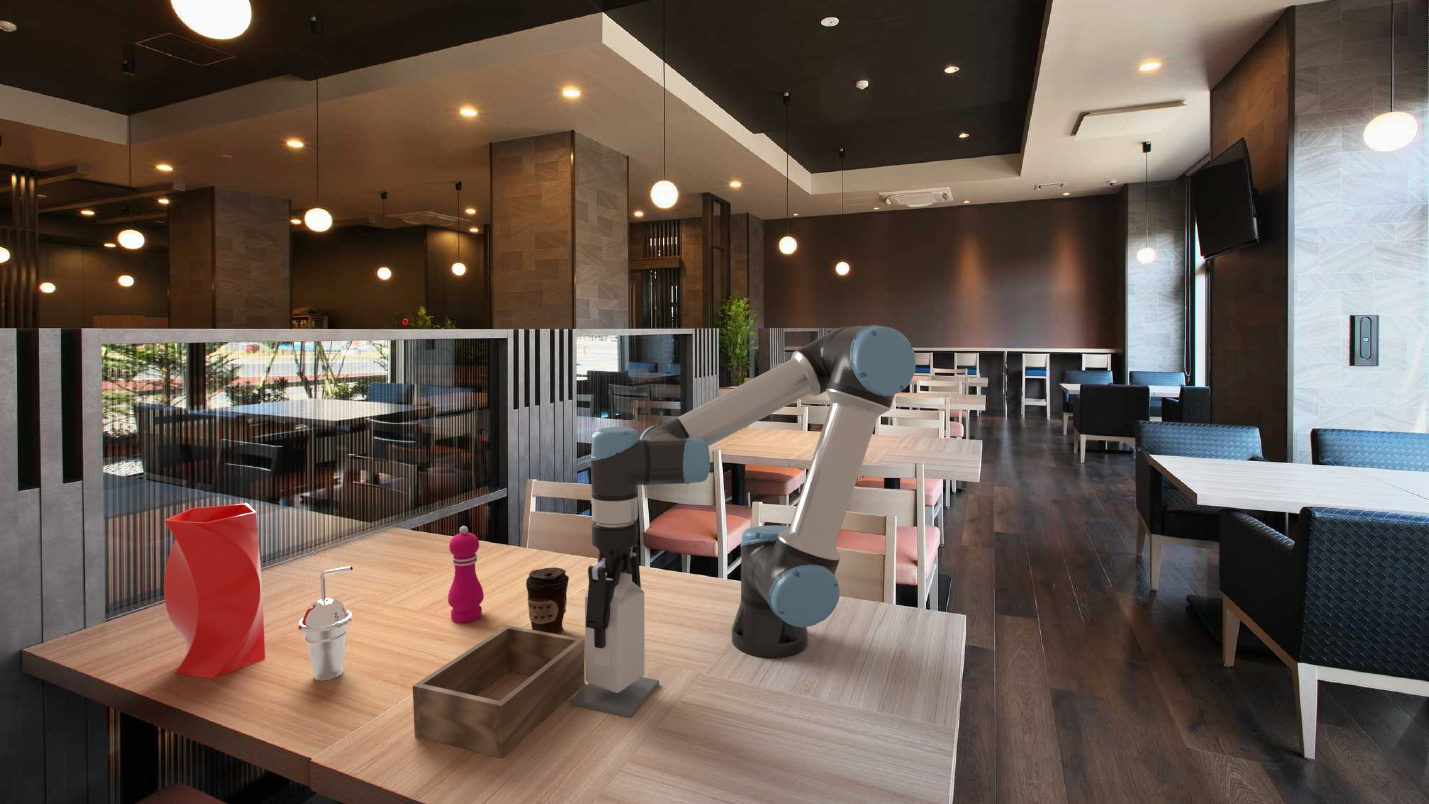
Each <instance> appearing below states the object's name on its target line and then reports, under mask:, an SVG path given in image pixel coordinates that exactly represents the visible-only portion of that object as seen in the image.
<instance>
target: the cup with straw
mask: <svg viewBox="0 0 1429 804" xmlns="http://www.w3.org/2000/svg"><path fill="white" fill-rule="evenodd" d="M353 569H354V568H353V566H344V567H339V568H334V569H328V570H323V571H322V572H321V573H320V579H319V580H320V595H321V599H319V600H316V601H315V602H313V603H312V604H311V605H309V606H308V607H307V609H306V611H305V612H304V615H303V617H302V618H300V620H298V626H297V628H298V630H300V631H301V632H303V635H304V638H305V641H306V643H307V646H308V647H307V648H308V653H309V658H310V663H311V667H312V673H313V674H314V676H313V678H314V680H316V681H319V680H320V681H319V682H321V681H322V682H323V680H326V681H331V680H334V679H336V678H335V677H337V678H338V676H339V675H340V676H341V675H343V673H344V670H343V667H344V664H345V651H346V639H347V633H348V629H349V624H350V623H351V622H352V621H353V619H354V616H353V614H352V612H351V610H349V609H348V608H347V607H346V605H345V604H344V602H343V601H340V600H338V599H335V598H332V597H328V598H327V594H326V591H327V590H326V589H327V588H326V575H330V574H331V575H332V574H336V573H337V574H338V573H344V572H351V571H353ZM342 672H343V673H342ZM340 676H339V677H340ZM333 678H334V679H333Z"/></svg>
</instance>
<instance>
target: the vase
mask: <svg viewBox="0 0 1429 804" xmlns="http://www.w3.org/2000/svg"><path fill="white" fill-rule="evenodd" d="M163 521H164V523H165V524H166V526H167V528H168V529H169V531H170V532H171V534H172V535H173V537H174V541H173V544H172V546H171V549H170V552H169V556H168V559H167V562H166V565H165V566H166V567H165V572H164V579H163V598H164V599H163V600H164V604H165V605H164V606H165V609H166V611H167V614H168V618H169V620H170V622H171V623H172V625H173V627H174V628H175V629H176V631H177V632H178V634H179V635H180V636H181V638H182V639H183V640H184V642H185V645H186V653H185V655H184V658H183V659H182V661H181V662H180V664H179V666H178V667H177V668H176V670H175V671H174V673H175V674H180V675H181V674H182V675H187V676H193V677H198V678H199V677H200V678H205V679H210V680H211V679H212V680H213V679H215V678H218V677H221V676H223V675H227V674H229V673H232V672H234V671H237V670H240V669H243V668H245V667H248V666H251V665H253V664H256V663H259V662H262V661H265V659H266V645H265V643H266V642H265V619H264V601H263V583H262V582H263V580H262V570H261V569H262V567H261V555H260V553H261V552H260V540H259V530H258V520H257V511H255V509H254V508H252V507H251V505H250V504H249V503H235V504H227V505H225V504H224V505H216V506H215V505H213V506H211V505H210V506H201V507H193V508H190V509H187V510H185V511H183V512H180V513H178V514H176V515H172V516H170V517H168V518H165V519H164V520H163ZM261 660H262V661H261Z"/></svg>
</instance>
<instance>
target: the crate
mask: <svg viewBox="0 0 1429 804" xmlns="http://www.w3.org/2000/svg"><path fill="white" fill-rule="evenodd" d="M508 672H514V673H519V674H525V675H529V676H530V677H528V678H527V679H525V680H524V681H523V682H522V683H520V684H519V685H518V686H517V687H515V689H513V690H512V691H511V692H509V693H508V694H507V695H505V696H504V697H503V698H502V699H501V700H497V699H492V698H488V697H484V696H480V695H479V696H478V694H480V693H481V692H483V691H484V690H485V689H487V688H488V687H489V686H490V685H492V684H494V683H495V682H496V681H498V680H499V679H500V678H502V676H504V675H506V674H507V673H508ZM585 682H586V674H585V639H584V638H581V637H574V636H569V635H564V634H563V635H558V634H553V633H547V632H542V631H536V630H532V629H530V628H525V627H518V626H514V625H508V624H506V625H505V626H504V627H502V628H500V629H499V630H497V631H496V632H494V633H492V634H491V635H490V636H487V638H485V639H483V640H482V641H481V642H479V643H477V644H475V645H474V646H473V647H471V648H469V649H468V650H466V651H465V652H463V653H461V654H460V655H458V656H457V657H455V658H454V659H452V660H450V661H449V662H447V663H446V664H444V665H443V666H441V667H440V668H438V669H437V670H435V671H434V672H432V673H430V674H428V675H427V676H426V677H424V678H423V679H421V680H420V681H418V682H416V683H415V684H414V685H412V701H413V702H412V703H413V725H414V726H413V728H414V730H413V731H414V736H415V737H418V738H422V739H425V740H430V741H434V742H438V743H441V744H445V745H449V746H453V747H458V748H461V749H464V750H469V751H473V752H477V753H479V754H484V755H488V756H490V757H491V756H492V757H495V758H500V759H504V758H505V757H506V756H507V755H508V754H509V753H510V752H511V751H512V750H514V749H515V748H516V747H517V746H518V745H519V744H521V742H522V741H523V740H524V739H526V738H527V736H529V735H530V734H531V733H532V732H533V731H534V730H535V729H537V727H538V726H540V725H541V724H542V723H543V722H544V721H545V720H546V719H547V718H548V717H549V716H550V715H551V714H552V713H553V712H555V710H557V709H558V708H559V707H560V706H561V705H563V704H564V702H566V701H567V700H568V699H570V698H569V697H571V696H572V695H573V694H575V693H576V691H577V690H578V689H580V688H581V687H582V686H583V685H584V684H585Z"/></svg>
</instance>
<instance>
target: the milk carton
mask: <svg viewBox="0 0 1429 804" xmlns="http://www.w3.org/2000/svg"><path fill="white" fill-rule="evenodd" d="M606 580H613V579H610V578H606ZM587 600H588V590H587V592H586V594H585V595H584V638H585V639H584V664H585V682H586V683H587V684H588V683H591V684H594V685H596V686H599V687H602V688H605V689H607V690H610V691H613V692H616V693H619V692H620V691H622V690H623V689H625V688H626V687H628V686H629V685H631V684H632V683H634V682H635V681H637V680H638V679H640V678H641V677H644V676H645V591H644V590H643V589H642V587H641V588H639V587H638V586H637V585H636V584H635V583H634V582H632V575H631V574H627V573H623V572H620V577H619V583H618V585H617V586H615V590H614V595H613V598H612V601H611V603H610V618H609V623H608V626H611V665H610V666H609V667H608V666H603V665H597V664H594V629H592V628H587V627H586V613H587Z"/></svg>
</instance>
